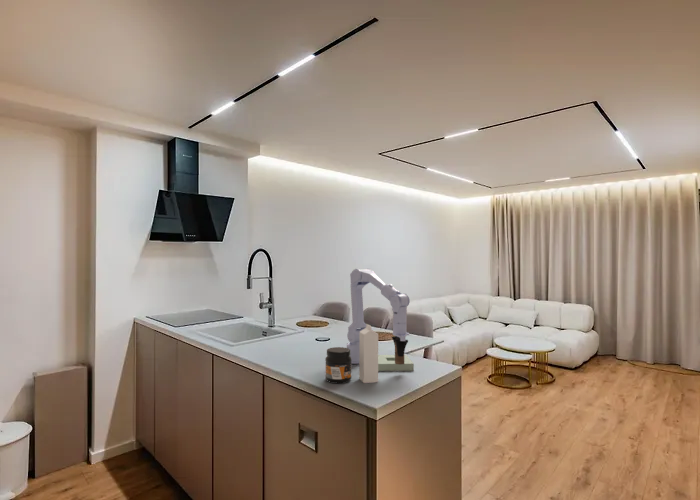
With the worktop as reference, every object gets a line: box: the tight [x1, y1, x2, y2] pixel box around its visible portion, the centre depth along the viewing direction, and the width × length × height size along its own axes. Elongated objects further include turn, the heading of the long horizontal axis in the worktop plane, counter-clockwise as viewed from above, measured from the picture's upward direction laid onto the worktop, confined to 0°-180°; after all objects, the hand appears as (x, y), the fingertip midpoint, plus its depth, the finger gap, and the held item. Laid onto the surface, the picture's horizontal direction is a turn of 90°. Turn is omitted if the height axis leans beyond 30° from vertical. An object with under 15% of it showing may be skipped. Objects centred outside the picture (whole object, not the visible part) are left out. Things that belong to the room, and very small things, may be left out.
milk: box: [358, 323, 379, 384], centre depth 148 cm, size 6×6×22 cm
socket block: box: [378, 354, 414, 372], centre depth 169 cm, size 16×16×3 cm
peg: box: [394, 338, 404, 364], centre depth 156 cm, size 4×4×10 cm
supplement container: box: [324, 346, 352, 384], centre depth 148 cm, size 10×10×12 cm
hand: (399, 354), depth 156 cm, fingers closed on peg, 4 cm apart
